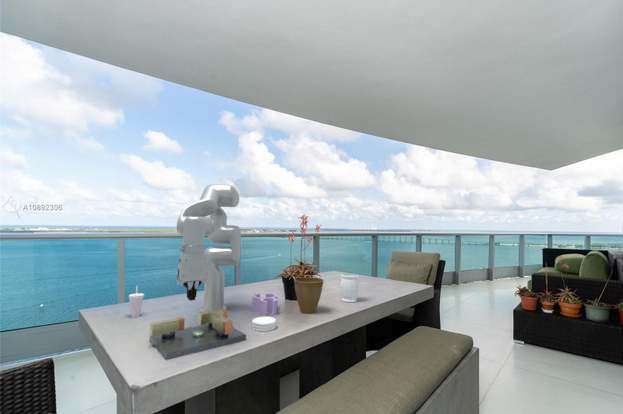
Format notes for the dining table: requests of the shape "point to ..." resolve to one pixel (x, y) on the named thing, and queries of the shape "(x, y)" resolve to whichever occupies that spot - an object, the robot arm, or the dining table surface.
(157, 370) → the dining table surface
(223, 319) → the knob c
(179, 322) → the olive and orange block
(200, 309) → the robot arm
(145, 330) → the dining table surface
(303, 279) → the plant pot
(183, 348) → the plate
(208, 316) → the beige rectangular block
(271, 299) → the lavender lobed block
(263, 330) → the white round disc
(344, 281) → the jar
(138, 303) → the smoothie
